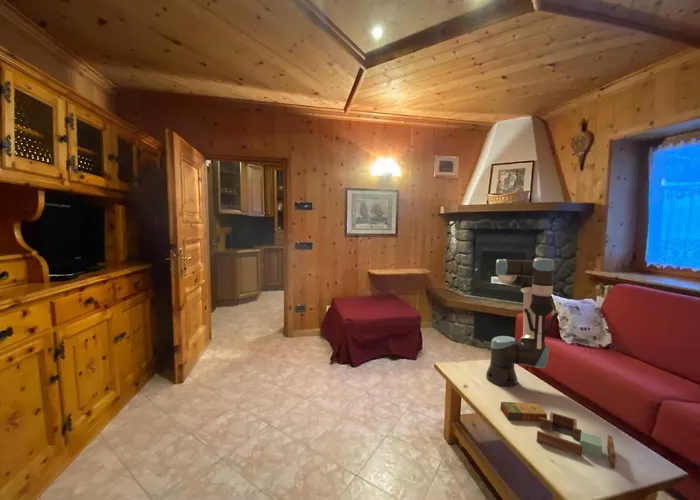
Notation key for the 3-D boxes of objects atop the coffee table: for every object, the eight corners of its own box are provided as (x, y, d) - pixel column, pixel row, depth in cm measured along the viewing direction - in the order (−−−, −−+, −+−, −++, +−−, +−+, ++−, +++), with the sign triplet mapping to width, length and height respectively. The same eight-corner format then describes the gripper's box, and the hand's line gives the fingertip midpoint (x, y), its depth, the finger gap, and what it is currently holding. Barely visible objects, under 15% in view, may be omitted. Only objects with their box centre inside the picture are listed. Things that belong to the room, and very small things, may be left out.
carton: (547, 423, 132) (547, 413, 131) (507, 421, 133) (508, 411, 133) (536, 411, 140) (537, 402, 140) (500, 409, 141) (500, 400, 141)
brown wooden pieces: (540, 417, 135) (541, 406, 134) (609, 439, 121) (610, 426, 121) (536, 441, 120) (537, 429, 119) (614, 469, 106) (615, 455, 106)
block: (580, 444, 119) (580, 431, 118) (600, 450, 115) (601, 437, 115) (580, 453, 114) (581, 440, 114) (601, 460, 110) (602, 447, 110)
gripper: (523, 293, 134) (520, 347, 135) (559, 298, 126) (556, 354, 128) (525, 291, 140) (523, 342, 142) (560, 294, 132) (557, 348, 134)
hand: (539, 347), depth 135 cm, fingers closed
